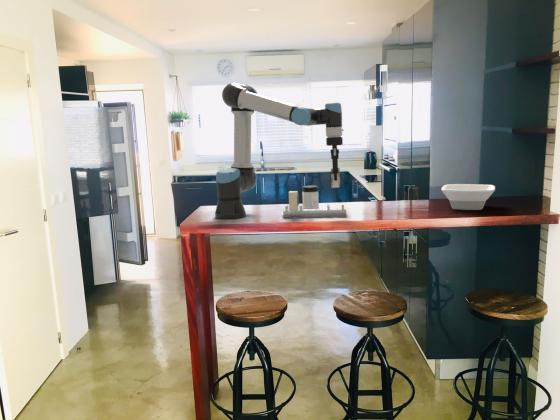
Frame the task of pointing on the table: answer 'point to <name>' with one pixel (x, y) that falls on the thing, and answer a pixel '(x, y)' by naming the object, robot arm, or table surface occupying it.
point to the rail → (309, 213)
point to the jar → (310, 197)
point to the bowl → (468, 195)
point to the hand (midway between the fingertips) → (335, 186)
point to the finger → (332, 178)
